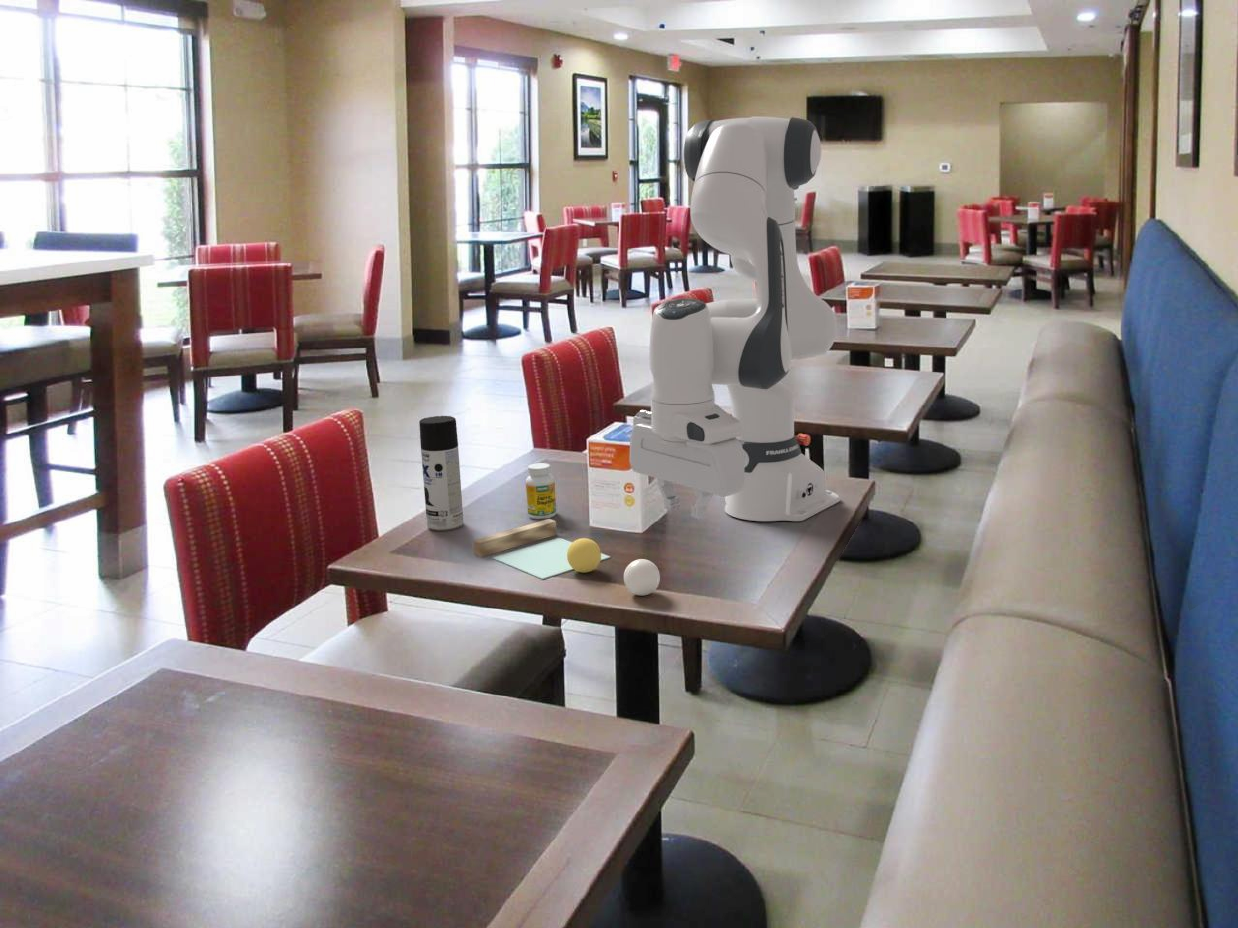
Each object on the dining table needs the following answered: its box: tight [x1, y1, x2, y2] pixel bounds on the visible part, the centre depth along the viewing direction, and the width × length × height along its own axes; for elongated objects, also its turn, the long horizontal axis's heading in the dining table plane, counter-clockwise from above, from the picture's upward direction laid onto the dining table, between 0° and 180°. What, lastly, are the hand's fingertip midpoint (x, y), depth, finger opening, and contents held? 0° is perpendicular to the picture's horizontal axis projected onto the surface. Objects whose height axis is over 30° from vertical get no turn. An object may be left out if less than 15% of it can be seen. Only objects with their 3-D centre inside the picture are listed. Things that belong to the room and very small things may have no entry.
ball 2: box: [623, 558, 661, 597], centre depth 176 cm, size 6×6×6 cm
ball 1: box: [567, 537, 602, 574], centre depth 186 cm, size 6×6×6 cm
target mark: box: [492, 537, 611, 581], centre depth 194 cm, size 14×14×1 cm
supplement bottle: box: [525, 462, 557, 520], centre depth 215 cm, size 5×5×10 cm
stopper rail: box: [472, 518, 558, 558], centre depth 201 cm, size 16×2×2 cm, turn 130°
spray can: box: [418, 415, 464, 532], centre depth 210 cm, size 7×7×20 cm
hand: (685, 513), depth 165 cm, fingers open, 4 cm apart
